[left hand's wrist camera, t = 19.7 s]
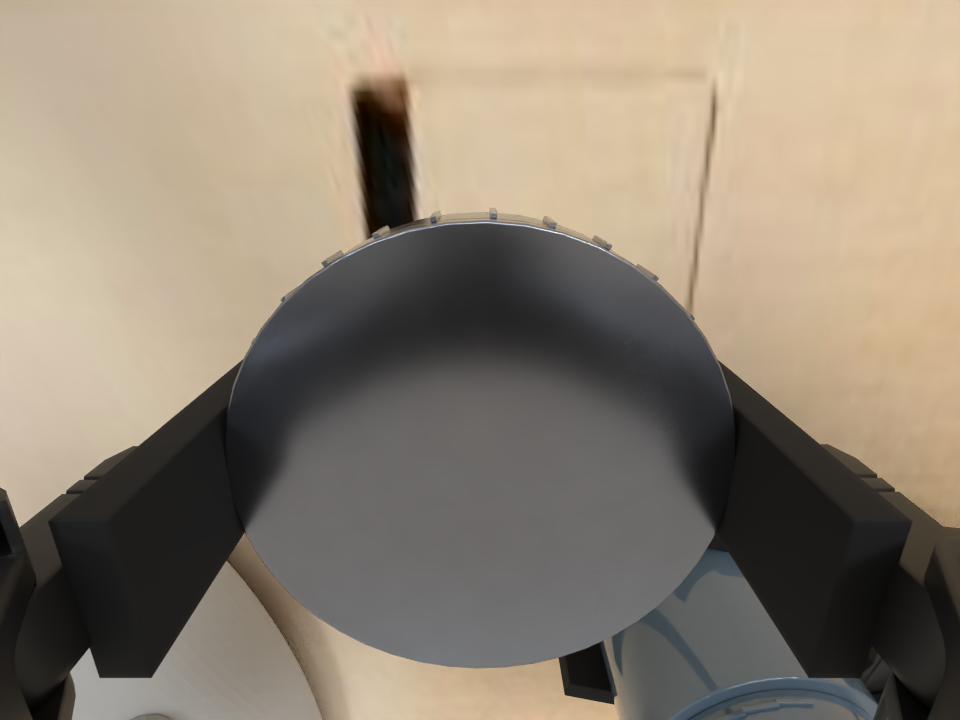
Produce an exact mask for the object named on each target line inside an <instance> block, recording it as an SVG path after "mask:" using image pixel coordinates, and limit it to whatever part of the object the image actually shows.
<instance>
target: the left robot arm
mask: <svg viewBox="0 0 960 720" xmlns="http://www.w3.org/2000/svg"><path fill="white" fill-rule="evenodd" d="M243 360H244V359H243ZM243 360H242V361H241V362H239V363H238V364H237V365H236V366H235V367H233V368H232V369H231V370H230V371H229V372H227V373H226V374H225V375H224V376H222V377H221V378H220V379H219V380H218V381H216V382H215V383H214V384H213V385H212V386H210V387H209V388H208V389H207V390H206V391H204V392H203V393H202V394H201V395H200V396H198V397H197V398H196V399H195V400H194V401H192V402H191V403H190V404H189V405H188V406H186V407H185V408H184V409H183V410H182V411H180V412H179V413H178V414H177V415H175V416H174V417H173V418H172V419H171V420H169V421H168V422H167V423H166V424H165V425H163V426H162V427H161V428H160V429H159V430H157V431H156V432H155V433H154V434H153V435H151V436H150V437H149V438H148V439H147V440H145V441H144V442H143V443H142V444H141V445H139V446H133V447H131V448H129V449H127V450H125V451H123V452H121V453H119V454H116V455H114V456H112V457H110V458H108V459H106V460H104V461H103V462H102V463H101V464H99V465H98V466H97V467H96V468H94V469H93V470H92V471H91V472H89V473H88V474H87V475H86V476H84V480H79V481H78V482H77V483H75V484H74V485H73V486H72V487H70V488H69V489H68V490H67V492H66V494H62V495H60V496H59V497H58V498H57V499H55V500H54V501H53V502H51V503H50V504H49V505H48V506H46V507H45V508H44V509H43V510H41V511H40V512H39V513H38V514H36V515H35V516H34V517H33V518H31V519H30V520H29V521H27V522H26V523H25V524H24V525H22V526H21V527H20V528H19V526H18V523H17V521H16V518H15V515H14V512H13V509H12V507H11V504H10V501H9V498H8V495H7V492H6V491H5V490H4V489H2V488H0V720H72V715H73V710H74V704H75V698H76V693H75V686H74V682H73V679H72V676H71V673H70V671H71V670H72V669H73V668H74V666H75V665H76V664H77V663H78V661H79V660H80V659H81V658H82V656H83V655H84V654H85V653H86V651H87V650H88V649H89V648H90V651H91V654H92V657H93V660H94V663H95V666H96V669H97V672H98V675H99V678H152V677H153V675H154V673H155V672H156V670H157V669H158V667H159V666H160V664H161V663H162V661H163V659H164V658H165V656H166V655H167V653H168V652H169V650H170V648H171V647H172V645H173V644H174V642H175V641H176V639H177V637H178V636H179V634H180V633H181V631H182V630H183V628H184V626H185V625H186V623H187V622H188V620H189V619H190V617H191V615H192V614H193V612H194V611H195V609H196V608H197V606H198V604H199V603H200V601H201V600H202V598H203V597H204V595H205V593H206V592H207V590H208V589H209V587H210V586H211V584H212V582H213V581H214V579H215V578H216V576H217V575H218V573H219V571H220V570H221V568H222V567H223V565H224V564H225V562H226V561H227V559H228V557H229V556H230V554H231V553H232V551H233V550H234V548H235V546H236V545H237V543H238V542H239V540H240V539H241V537H242V535H243V534H244V532H245V531H244V529H243V526H242V524H241V521H240V519H239V516H238V514H237V511H236V509H235V506H234V503H233V498H232V493H231V488H230V483H229V478H228V472H227V466H226V459H225V448H224V446H225V431H226V416H227V411H228V407H229V402H230V398H231V393H232V389H233V385H234V383H235V380H236V377H237V375H238V372H239V370H240V367H241V365H242V362H243ZM718 362H719V364H720V366H721V369H722V372H723V375H724V378H725V381H726V384H727V387H728V390H729V393H730V396H731V402H732V408H733V413H734V419H735V425H736V458H735V464H734V470H733V475H732V481H731V486H730V491H729V496H728V501H727V505H726V509H725V512H724V515H723V517H722V519H721V521H720V524H719V526H718V528H717V530H716V533H717V535H718V536H719V538H720V540H721V541H722V543H723V544H724V546H725V547H726V549H727V551H728V552H729V554H730V555H731V557H732V558H733V560H734V562H735V563H736V565H737V566H738V568H739V569H740V571H741V573H742V574H743V576H744V577H745V579H746V580H747V582H748V583H749V585H750V587H751V588H752V590H753V591H754V593H755V594H756V596H757V598H758V599H759V601H760V602H761V604H762V605H763V607H764V609H765V610H766V612H767V613H768V615H769V616H770V618H771V620H772V621H773V623H774V624H775V626H776V627H777V629H778V631H779V632H780V634H781V635H782V637H783V638H784V640H785V642H786V643H787V645H788V646H789V648H790V649H791V651H792V653H793V654H794V656H795V657H796V659H797V660H798V662H799V663H800V665H801V667H802V668H803V670H804V671H805V673H806V674H807V676H808V678H861V676H862V673H863V670H864V667H865V664H866V661H867V658H868V655H869V652H870V649H871V646H872V647H873V648H874V649H875V650H876V652H877V653H878V654H879V655H880V656H881V658H882V659H883V660H884V661H885V663H886V664H887V665H888V666H889V668H890V669H891V670H890V673H889V676H888V679H887V682H886V685H885V687H884V690H883V693H882V696H881V699H880V701H879V704H878V707H877V710H876V713H875V716H874V718H873V720H960V535H953V534H952V533H951V532H949V531H948V530H947V529H946V528H944V527H943V526H942V525H940V524H939V523H938V522H937V521H935V520H934V519H933V518H932V517H930V516H929V515H928V514H926V513H925V512H924V511H923V510H921V509H920V508H919V507H918V506H916V505H915V504H914V503H912V502H911V501H910V500H909V499H907V498H906V497H905V496H904V495H902V494H901V493H900V492H895V488H893V487H892V486H891V485H890V484H888V483H887V482H886V481H884V480H883V479H882V478H877V474H876V473H874V472H873V471H872V470H870V469H869V468H868V467H867V466H865V465H864V464H863V463H862V462H860V461H859V460H858V459H856V458H855V457H852V456H850V455H848V454H846V453H844V452H842V451H840V450H838V449H836V448H834V447H832V446H830V445H828V444H819V443H817V442H816V441H815V440H814V439H813V438H811V437H810V436H809V435H808V434H807V433H805V432H804V431H803V430H802V429H801V428H799V427H798V426H797V425H796V424H795V423H793V422H792V421H791V420H790V419H789V418H787V417H786V416H785V415H784V414H782V413H781V412H780V411H779V410H778V409H776V408H775V407H774V406H773V405H772V404H770V403H769V402H768V401H767V400H766V399H764V398H763V397H762V396H761V395H760V394H758V393H757V392H756V391H755V390H754V389H752V388H751V387H750V386H749V385H748V384H746V383H745V382H744V381H743V380H742V379H740V378H739V377H738V376H737V375H735V374H734V373H733V372H732V371H731V370H729V369H728V368H727V367H726V366H725V365H723V364H722V363H721V362H720V361H719V360H718Z"/></svg>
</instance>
